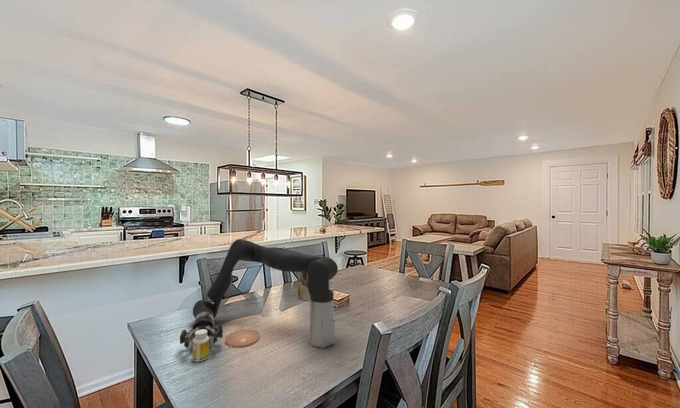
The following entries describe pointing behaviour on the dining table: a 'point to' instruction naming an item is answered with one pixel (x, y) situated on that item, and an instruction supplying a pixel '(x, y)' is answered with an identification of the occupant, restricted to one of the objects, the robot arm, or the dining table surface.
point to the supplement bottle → (200, 346)
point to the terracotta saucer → (242, 338)
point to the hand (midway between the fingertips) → (200, 342)
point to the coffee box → (303, 286)
